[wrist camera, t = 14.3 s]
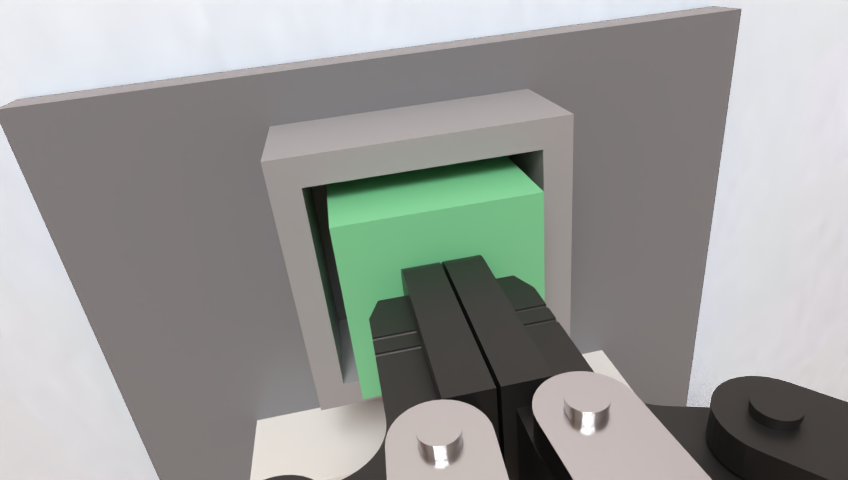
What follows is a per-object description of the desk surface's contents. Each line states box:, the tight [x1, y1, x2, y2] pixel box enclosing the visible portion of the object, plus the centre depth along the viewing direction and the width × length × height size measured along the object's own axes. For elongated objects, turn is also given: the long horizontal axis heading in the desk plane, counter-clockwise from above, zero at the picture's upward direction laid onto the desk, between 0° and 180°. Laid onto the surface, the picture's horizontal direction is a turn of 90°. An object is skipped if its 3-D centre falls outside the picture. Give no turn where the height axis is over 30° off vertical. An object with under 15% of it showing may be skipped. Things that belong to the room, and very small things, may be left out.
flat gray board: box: [0, 6, 741, 480], centre depth 16 cm, size 16×20×4 cm
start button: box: [326, 156, 545, 399], centre depth 12 cm, size 4×4×3 cm
